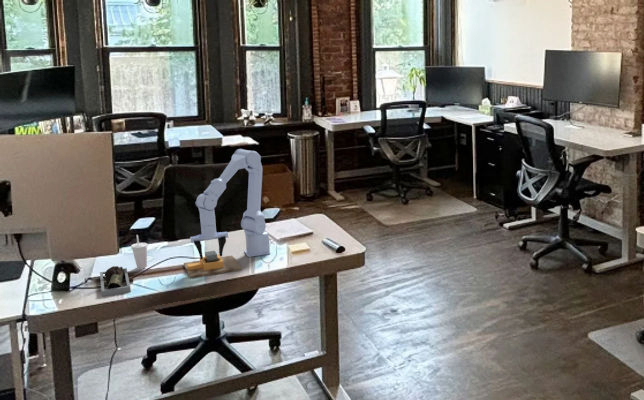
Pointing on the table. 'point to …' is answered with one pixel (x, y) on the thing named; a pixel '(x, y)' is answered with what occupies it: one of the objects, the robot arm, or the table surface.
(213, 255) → the grey block
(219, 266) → the bracket collar
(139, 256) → the smoothie
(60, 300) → the table surface
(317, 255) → the table surface
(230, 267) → the base plate
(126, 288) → the pipe rest
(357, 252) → the table surface
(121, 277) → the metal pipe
